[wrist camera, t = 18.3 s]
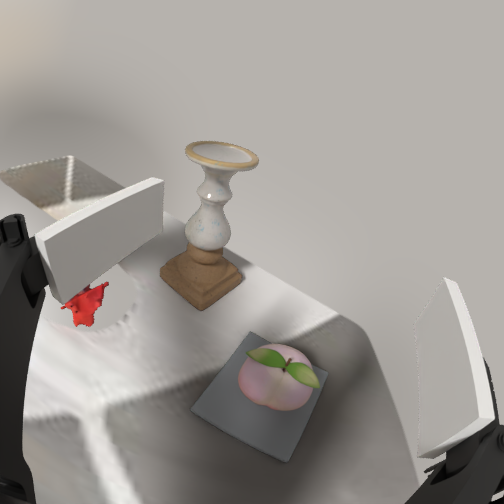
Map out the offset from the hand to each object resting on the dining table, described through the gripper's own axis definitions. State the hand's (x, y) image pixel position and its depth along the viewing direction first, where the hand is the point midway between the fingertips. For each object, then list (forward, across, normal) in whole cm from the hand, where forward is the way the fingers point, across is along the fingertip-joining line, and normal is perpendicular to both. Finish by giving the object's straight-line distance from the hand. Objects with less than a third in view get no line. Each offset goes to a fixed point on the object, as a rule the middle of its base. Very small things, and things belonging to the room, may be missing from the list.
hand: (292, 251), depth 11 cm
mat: (+10, -2, +28) cm, 30 cm away
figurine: (+6, +29, +26) cm, 40 cm away
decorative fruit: (+10, -2, +28) cm, 29 cm away
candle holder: (+25, +17, +27) cm, 40 cm away
